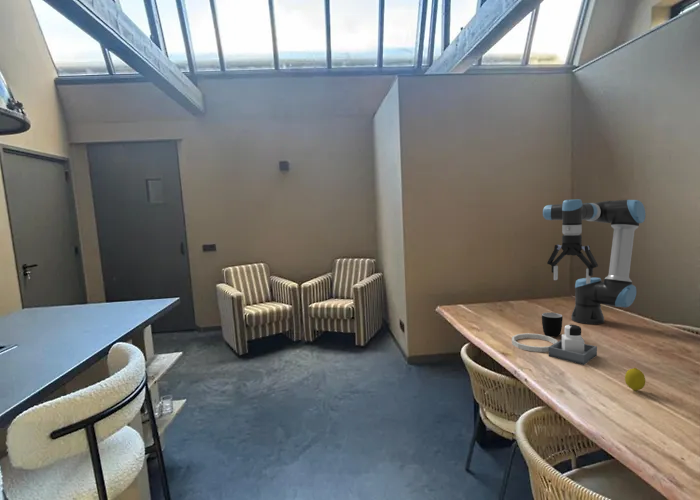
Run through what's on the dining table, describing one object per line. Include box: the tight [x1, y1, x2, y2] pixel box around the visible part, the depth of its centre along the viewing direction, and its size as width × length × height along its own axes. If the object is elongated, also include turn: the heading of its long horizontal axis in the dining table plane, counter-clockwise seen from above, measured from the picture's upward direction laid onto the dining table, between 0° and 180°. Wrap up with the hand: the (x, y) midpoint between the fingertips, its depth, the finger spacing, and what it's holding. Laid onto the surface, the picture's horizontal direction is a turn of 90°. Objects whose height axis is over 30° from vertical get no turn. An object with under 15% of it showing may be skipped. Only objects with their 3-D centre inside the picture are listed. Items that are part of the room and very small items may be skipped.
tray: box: [548, 339, 598, 366], centre depth 162 cm, size 14×14×4 cm
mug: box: [541, 312, 563, 338], centre depth 190 cm, size 12×9×10 cm
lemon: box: [624, 367, 646, 392], centre depth 130 cm, size 6×6×8 cm
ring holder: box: [511, 332, 558, 353], centre depth 178 cm, size 19×19×2 cm
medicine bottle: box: [561, 324, 585, 354], centre depth 162 cm, size 7×7×12 cm
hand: (571, 281), depth 174 cm, fingers open, 13 cm apart
